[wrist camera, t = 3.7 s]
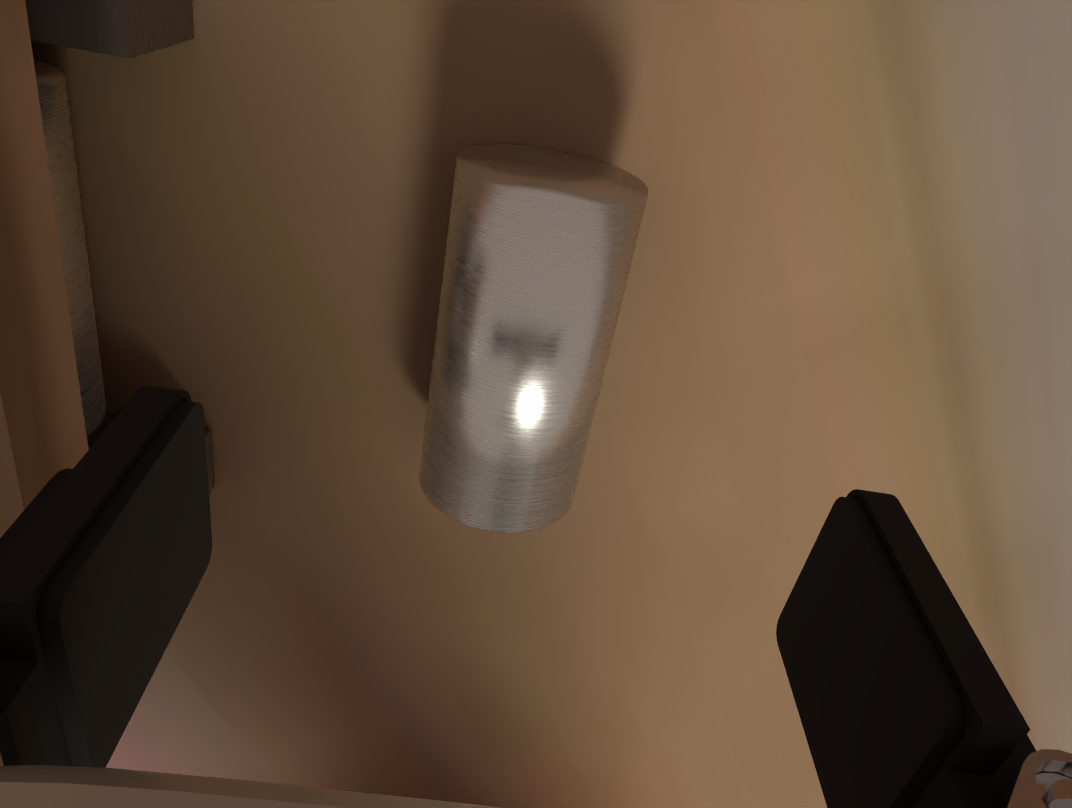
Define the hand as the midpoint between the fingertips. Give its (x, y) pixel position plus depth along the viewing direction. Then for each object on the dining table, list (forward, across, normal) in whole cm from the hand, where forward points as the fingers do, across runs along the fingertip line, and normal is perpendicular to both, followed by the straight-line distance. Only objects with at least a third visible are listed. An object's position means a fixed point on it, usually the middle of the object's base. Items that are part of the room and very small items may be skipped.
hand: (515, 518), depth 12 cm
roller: (+9, 0, +1) cm, 9 cm away
